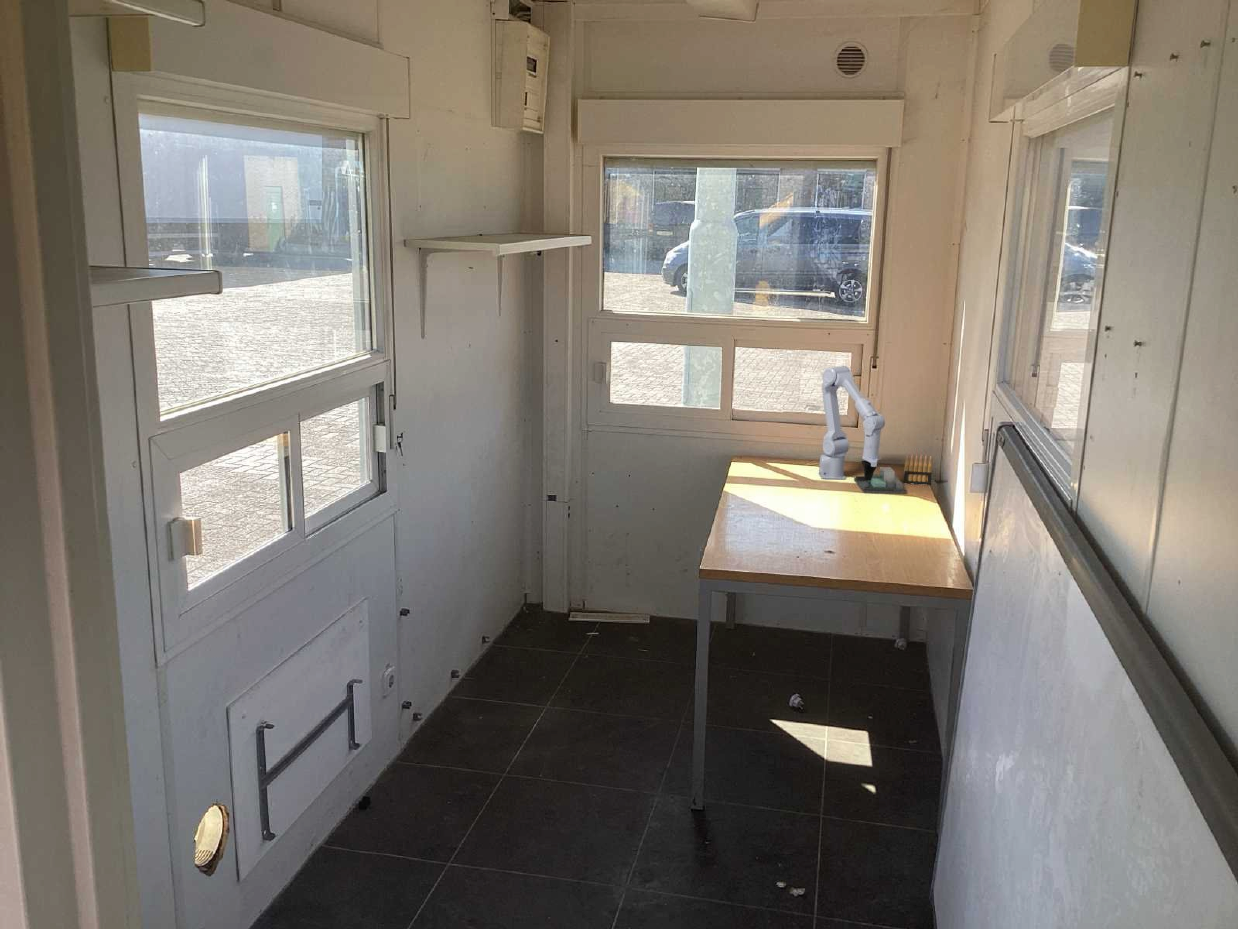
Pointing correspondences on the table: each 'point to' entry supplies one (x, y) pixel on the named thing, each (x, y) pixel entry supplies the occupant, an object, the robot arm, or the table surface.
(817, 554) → the table surface
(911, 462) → the ammunition clip
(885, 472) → the steel block
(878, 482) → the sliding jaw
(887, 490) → the vise bed
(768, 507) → the table surface
